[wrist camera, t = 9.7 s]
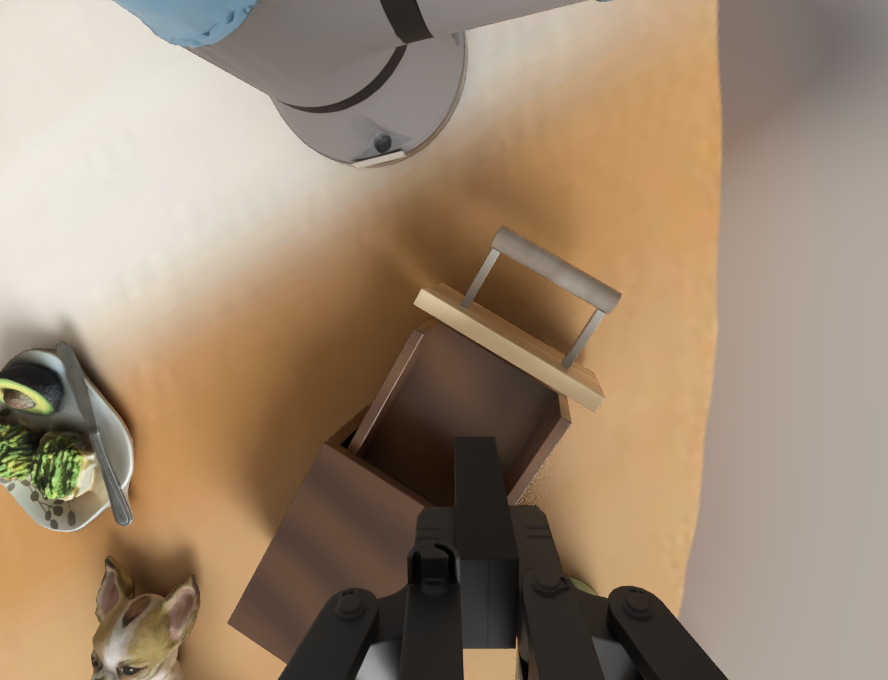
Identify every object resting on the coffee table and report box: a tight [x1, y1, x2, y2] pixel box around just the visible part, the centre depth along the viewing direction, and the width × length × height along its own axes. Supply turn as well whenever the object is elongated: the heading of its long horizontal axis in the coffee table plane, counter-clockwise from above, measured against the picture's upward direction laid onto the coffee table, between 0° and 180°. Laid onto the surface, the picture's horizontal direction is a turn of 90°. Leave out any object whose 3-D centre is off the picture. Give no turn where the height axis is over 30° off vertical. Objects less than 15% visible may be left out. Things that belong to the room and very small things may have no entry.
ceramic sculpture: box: [91, 556, 200, 680], centre depth 47 cm, size 11×9×15 cm
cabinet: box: [228, 406, 437, 664], centre depth 40 cm, size 18×15×9 cm
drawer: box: [347, 225, 622, 507], centre depth 36 cm, size 23×14×7 cm, turn 151°
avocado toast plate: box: [0, 340, 134, 532], centre depth 47 cm, size 19×18×5 cm
